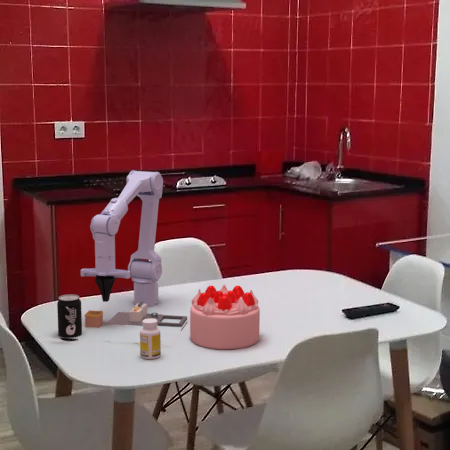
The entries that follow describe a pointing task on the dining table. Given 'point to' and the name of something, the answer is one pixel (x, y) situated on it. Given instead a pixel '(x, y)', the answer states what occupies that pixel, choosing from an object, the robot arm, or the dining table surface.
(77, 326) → the beverage can
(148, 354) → the supplement bottle
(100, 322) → the copper lidded box
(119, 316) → the panel
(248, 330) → the cake
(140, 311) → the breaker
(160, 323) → the socket
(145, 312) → the block
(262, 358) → the dining table surface
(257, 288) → the dining table surface
